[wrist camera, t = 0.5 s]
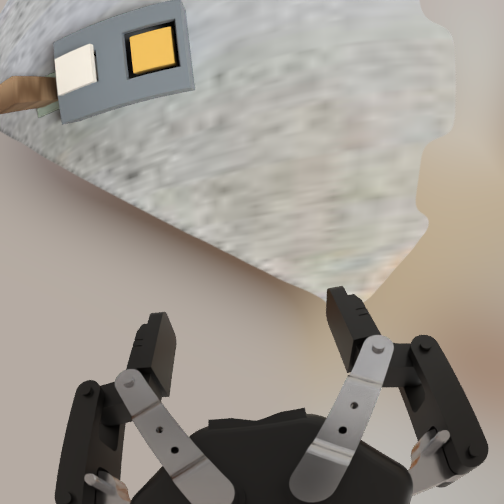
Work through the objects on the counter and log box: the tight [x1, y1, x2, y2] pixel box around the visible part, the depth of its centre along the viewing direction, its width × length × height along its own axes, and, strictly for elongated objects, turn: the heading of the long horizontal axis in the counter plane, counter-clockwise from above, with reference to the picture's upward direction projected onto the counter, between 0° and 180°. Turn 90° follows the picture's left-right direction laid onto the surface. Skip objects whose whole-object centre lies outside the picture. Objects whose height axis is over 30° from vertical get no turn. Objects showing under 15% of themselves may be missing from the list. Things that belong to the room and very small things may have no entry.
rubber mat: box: [37, 72, 60, 118], centre depth 29 cm, size 6×6×1 cm
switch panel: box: [53, 0, 195, 124], centre depth 27 cm, size 12×17×5 cm
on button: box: [55, 44, 98, 96], centre depth 24 cm, size 5×5×4 cm
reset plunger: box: [130, 26, 177, 75], centre depth 26 cm, size 5×5×2 cm
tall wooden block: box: [0, 76, 58, 114], centre depth 23 cm, size 4×4×11 cm
